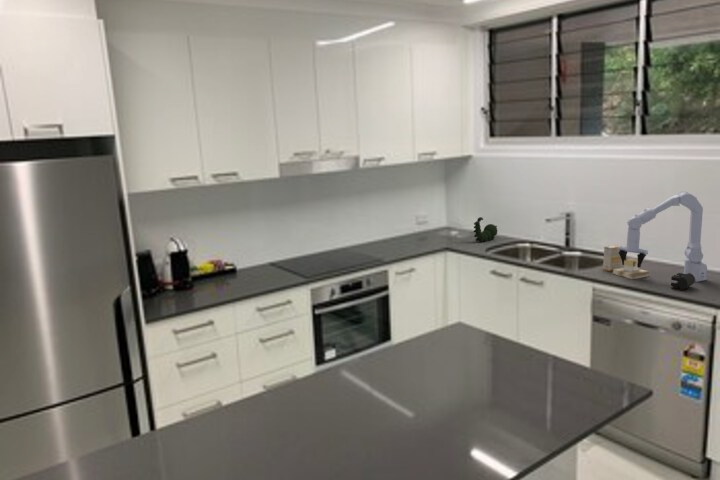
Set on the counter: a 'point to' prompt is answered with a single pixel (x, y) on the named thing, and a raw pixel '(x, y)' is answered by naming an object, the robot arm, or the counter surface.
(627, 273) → the stand
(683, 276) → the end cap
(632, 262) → the block
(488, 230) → the toy figurine
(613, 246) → the supplement box
